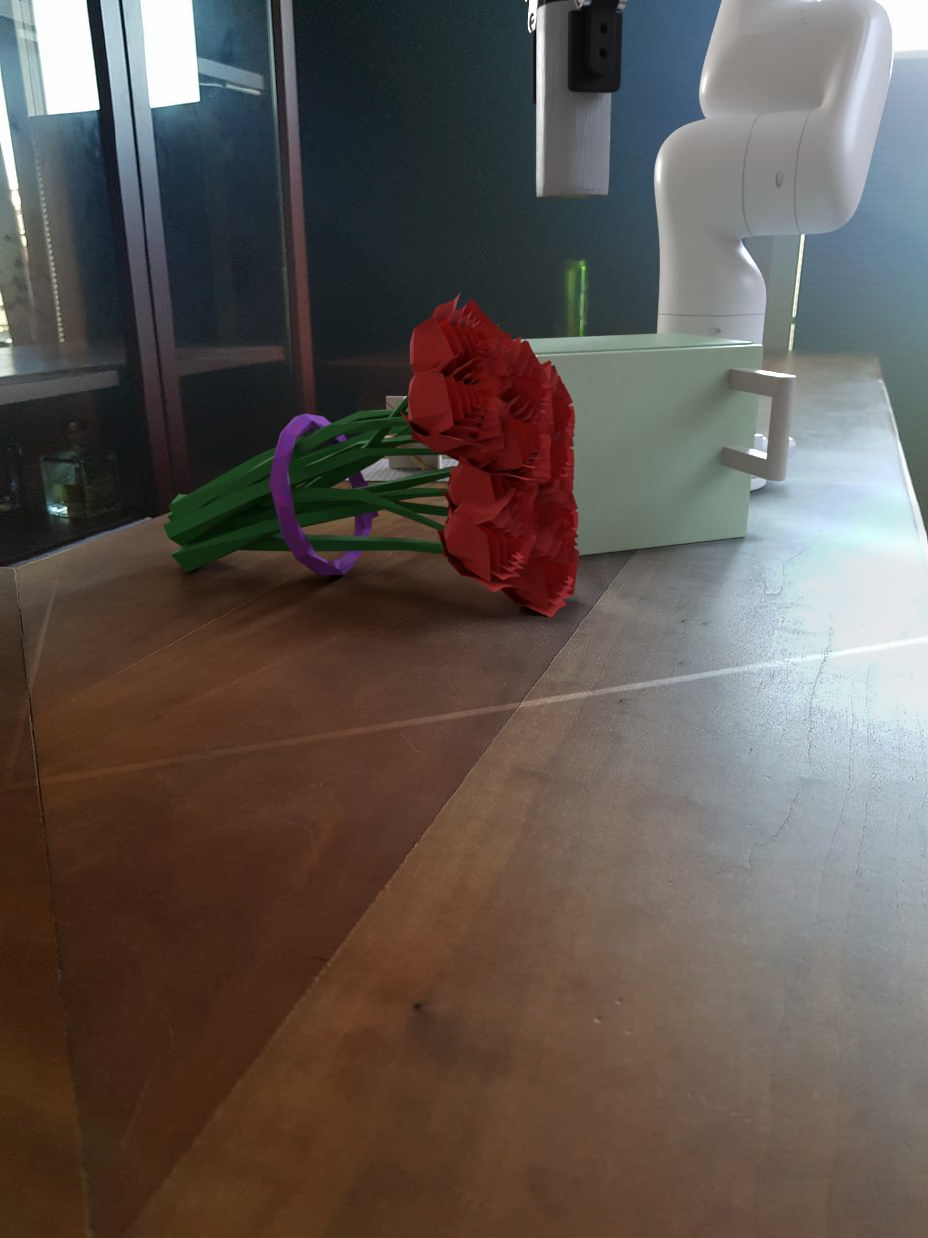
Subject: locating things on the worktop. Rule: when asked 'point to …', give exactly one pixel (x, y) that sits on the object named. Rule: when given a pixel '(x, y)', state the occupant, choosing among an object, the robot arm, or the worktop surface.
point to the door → (670, 442)
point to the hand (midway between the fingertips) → (574, 94)
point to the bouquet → (449, 425)
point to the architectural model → (404, 458)
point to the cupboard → (626, 343)
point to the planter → (567, 117)
